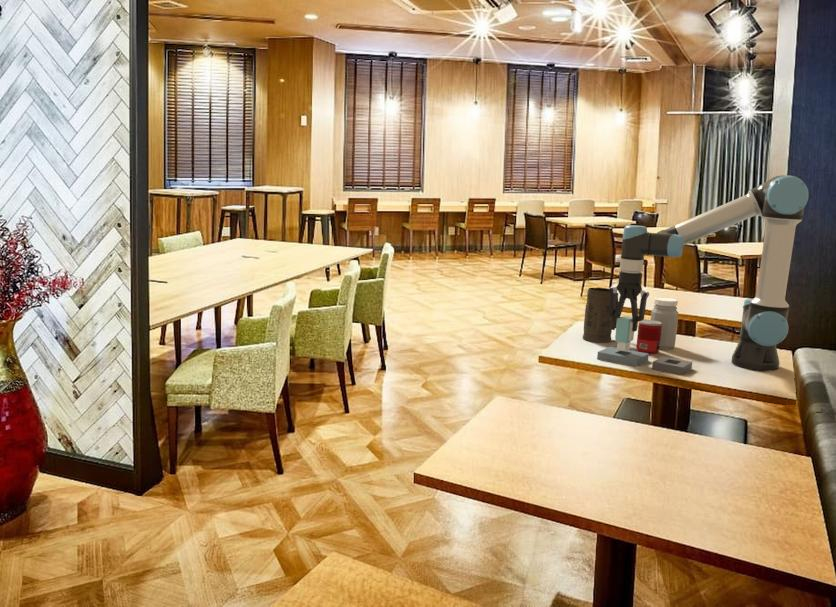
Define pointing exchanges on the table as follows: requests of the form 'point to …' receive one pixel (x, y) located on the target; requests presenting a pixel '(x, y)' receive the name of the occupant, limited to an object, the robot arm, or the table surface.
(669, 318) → the jar
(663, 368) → the hollow square frame
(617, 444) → the table surface
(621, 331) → the plug
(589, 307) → the beer stein
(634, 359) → the port panel
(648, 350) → the canned food
